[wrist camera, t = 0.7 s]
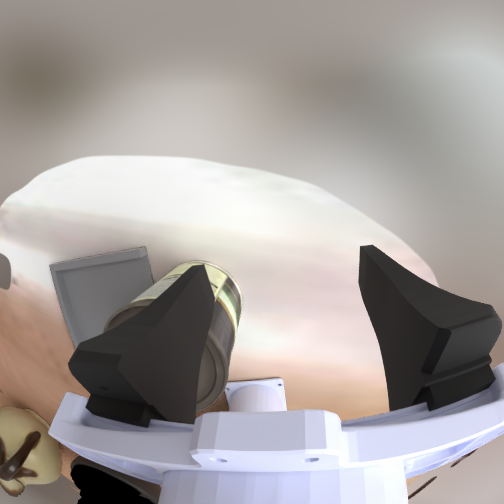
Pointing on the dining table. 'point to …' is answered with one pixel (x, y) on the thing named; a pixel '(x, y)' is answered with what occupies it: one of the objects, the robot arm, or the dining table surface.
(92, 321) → the tray
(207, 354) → the coffee can
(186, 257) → the dining table surface
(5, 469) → the pitcher
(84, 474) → the bowl of black rocks
